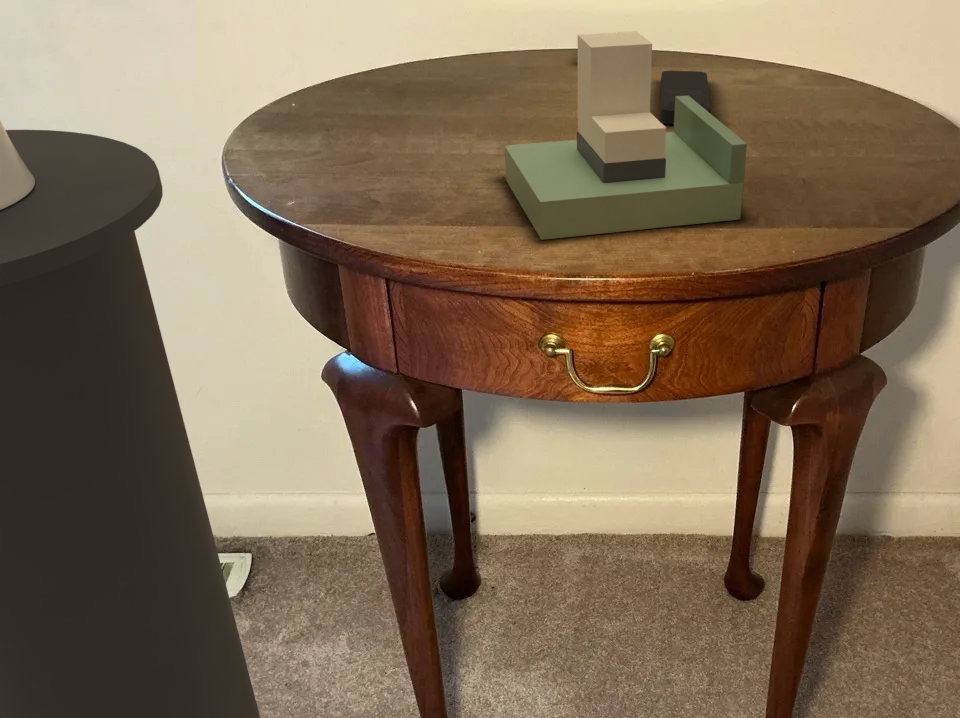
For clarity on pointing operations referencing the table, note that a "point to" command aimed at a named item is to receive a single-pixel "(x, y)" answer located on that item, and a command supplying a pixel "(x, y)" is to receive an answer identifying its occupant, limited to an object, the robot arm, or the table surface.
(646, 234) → the table surface
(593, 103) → the beige stepped block
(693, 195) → the green l-shaped bracket
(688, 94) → the remote control
